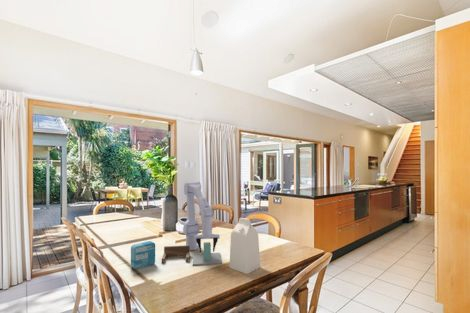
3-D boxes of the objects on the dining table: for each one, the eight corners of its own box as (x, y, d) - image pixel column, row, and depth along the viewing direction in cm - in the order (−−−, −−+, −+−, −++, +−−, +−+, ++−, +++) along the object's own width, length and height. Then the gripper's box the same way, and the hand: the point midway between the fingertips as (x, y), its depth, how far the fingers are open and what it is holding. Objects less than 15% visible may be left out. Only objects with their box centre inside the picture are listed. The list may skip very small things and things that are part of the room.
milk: (260, 267, 133) (259, 218, 134) (246, 274, 124) (246, 222, 125) (243, 261, 141) (242, 215, 142) (229, 267, 132) (229, 218, 133)
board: (193, 255, 151) (193, 253, 151) (219, 253, 153) (219, 252, 153) (192, 265, 135) (192, 264, 135) (221, 264, 137) (221, 262, 137)
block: (203, 256, 147) (203, 242, 147) (210, 255, 148) (210, 242, 148) (203, 259, 141) (203, 245, 141) (210, 259, 142) (210, 245, 142)
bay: (164, 256, 149) (164, 246, 149) (189, 255, 151) (189, 245, 151) (161, 263, 139) (161, 252, 139) (188, 261, 141) (188, 251, 141)
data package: (133, 270, 130) (134, 247, 130) (130, 267, 133) (130, 245, 134) (155, 263, 138) (155, 242, 139) (151, 261, 141) (151, 240, 142)
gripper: (194, 230, 140) (194, 254, 139) (219, 229, 142) (219, 253, 141) (194, 226, 147) (194, 250, 146) (219, 226, 149) (219, 248, 148)
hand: (207, 251), depth 144 cm, fingers open, 7 cm apart
